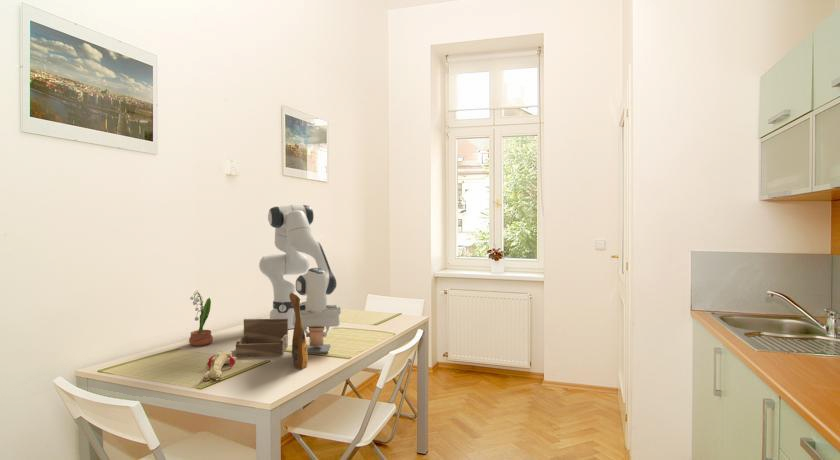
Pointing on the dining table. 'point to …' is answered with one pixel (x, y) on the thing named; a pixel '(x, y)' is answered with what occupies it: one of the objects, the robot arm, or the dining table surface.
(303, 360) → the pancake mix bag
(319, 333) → the terracotta pot
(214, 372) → the cream toy figurine
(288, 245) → the robot arm
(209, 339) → the potted flower
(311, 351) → the rubber mat
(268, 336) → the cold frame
